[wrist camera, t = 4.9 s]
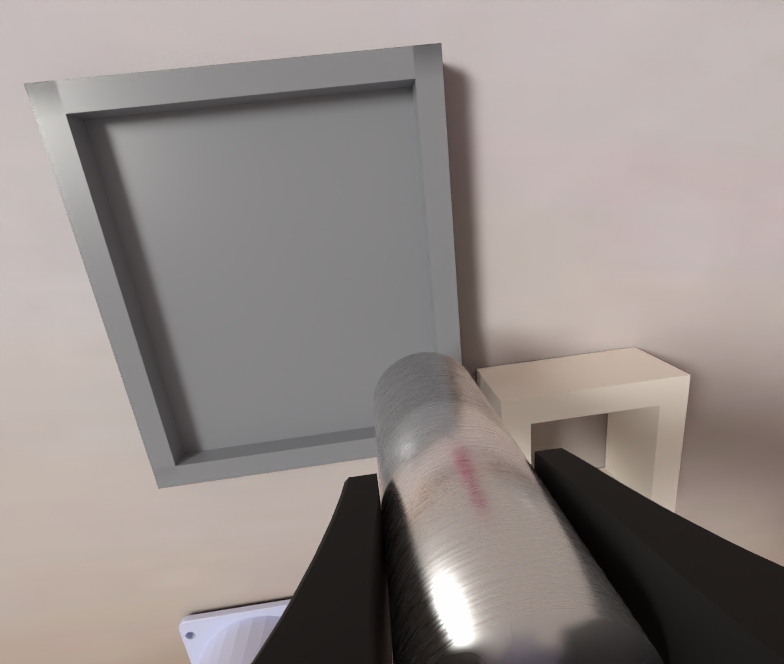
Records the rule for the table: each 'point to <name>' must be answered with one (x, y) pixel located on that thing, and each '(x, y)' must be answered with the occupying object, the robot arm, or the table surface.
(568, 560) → the steel pin
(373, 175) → the tray
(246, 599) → the table surface
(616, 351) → the white hollow block
